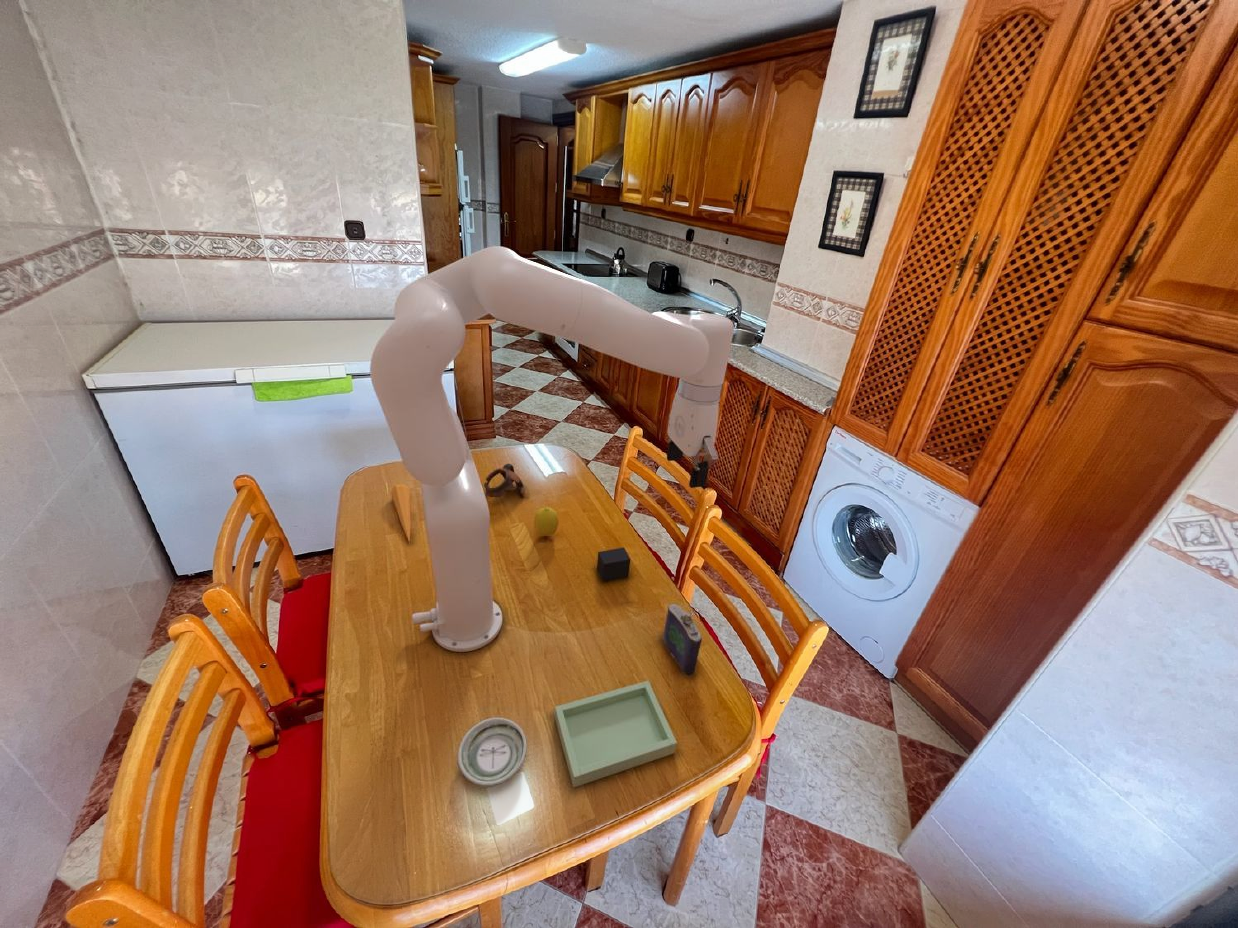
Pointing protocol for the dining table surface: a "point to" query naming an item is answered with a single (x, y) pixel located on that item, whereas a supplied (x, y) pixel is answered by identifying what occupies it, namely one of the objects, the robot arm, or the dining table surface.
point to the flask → (682, 638)
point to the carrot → (402, 506)
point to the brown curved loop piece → (507, 484)
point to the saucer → (492, 751)
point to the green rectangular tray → (613, 732)
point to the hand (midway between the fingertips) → (685, 472)
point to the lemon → (546, 521)
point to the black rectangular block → (613, 564)
